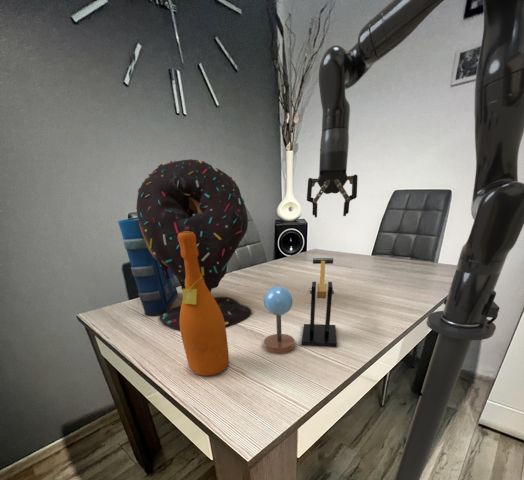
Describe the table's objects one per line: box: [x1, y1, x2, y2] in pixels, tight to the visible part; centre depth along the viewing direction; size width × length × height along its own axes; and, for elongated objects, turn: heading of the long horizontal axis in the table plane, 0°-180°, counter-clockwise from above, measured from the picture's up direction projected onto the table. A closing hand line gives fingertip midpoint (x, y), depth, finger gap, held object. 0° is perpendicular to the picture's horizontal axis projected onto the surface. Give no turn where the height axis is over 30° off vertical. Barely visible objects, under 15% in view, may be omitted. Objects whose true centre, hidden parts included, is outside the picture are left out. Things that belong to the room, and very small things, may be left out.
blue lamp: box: [263, 285, 296, 355], centre depth 68 cm, size 8×8×16 cm
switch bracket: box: [300, 281, 338, 348], centre depth 72 cm, size 11×9×15 cm
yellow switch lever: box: [312, 257, 334, 299], centre depth 72 cm, size 14×6×2 cm, turn 169°
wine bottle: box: [178, 231, 230, 377], centre depth 58 cm, size 10×10×30 cm
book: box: [117, 216, 178, 317], centre depth 98 cm, size 24×9×30 cm, turn 4°
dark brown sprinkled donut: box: [135, 158, 252, 331], centre depth 84 cm, size 30×32×45 cm
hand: (330, 216), depth 83 cm, fingers open, 8 cm apart
